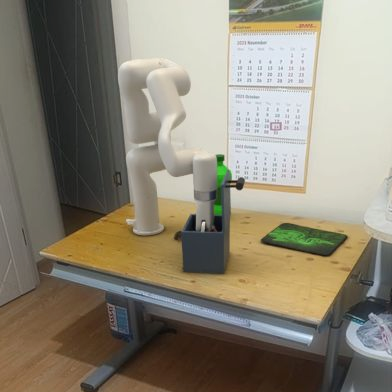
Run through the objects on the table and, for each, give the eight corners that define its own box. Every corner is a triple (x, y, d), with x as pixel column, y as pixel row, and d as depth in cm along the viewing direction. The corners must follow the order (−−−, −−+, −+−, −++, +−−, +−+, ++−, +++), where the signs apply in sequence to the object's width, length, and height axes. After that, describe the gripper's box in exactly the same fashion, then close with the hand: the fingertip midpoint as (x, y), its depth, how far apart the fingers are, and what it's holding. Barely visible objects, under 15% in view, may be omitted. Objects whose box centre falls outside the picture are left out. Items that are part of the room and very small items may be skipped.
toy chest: (183, 271, 159) (181, 231, 151) (192, 251, 172) (190, 213, 164) (223, 273, 157) (223, 233, 149) (229, 253, 170) (229, 214, 162)
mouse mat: (349, 236, 179) (349, 233, 178) (329, 257, 164) (329, 254, 163) (282, 224, 191) (282, 221, 191) (258, 242, 176) (258, 240, 176)
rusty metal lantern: (183, 236, 170) (206, 225, 172) (168, 222, 179) (190, 212, 181) (187, 253, 175) (210, 242, 177) (172, 238, 184) (194, 228, 186)
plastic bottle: (221, 211, 207) (221, 151, 192) (236, 218, 199) (237, 155, 185) (203, 216, 202) (201, 155, 188) (217, 223, 195) (216, 160, 181)
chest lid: (220, 184, 140) (241, 184, 139) (227, 169, 154) (246, 169, 152) (222, 231, 148) (242, 231, 147) (228, 213, 162) (246, 213, 161)
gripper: (198, 186, 159) (200, 236, 169) (189, 203, 145) (191, 256, 155) (220, 186, 157) (220, 237, 168) (213, 203, 143) (214, 257, 154)
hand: (206, 246), depth 161 cm, fingers closed on soda can, 7 cm apart
